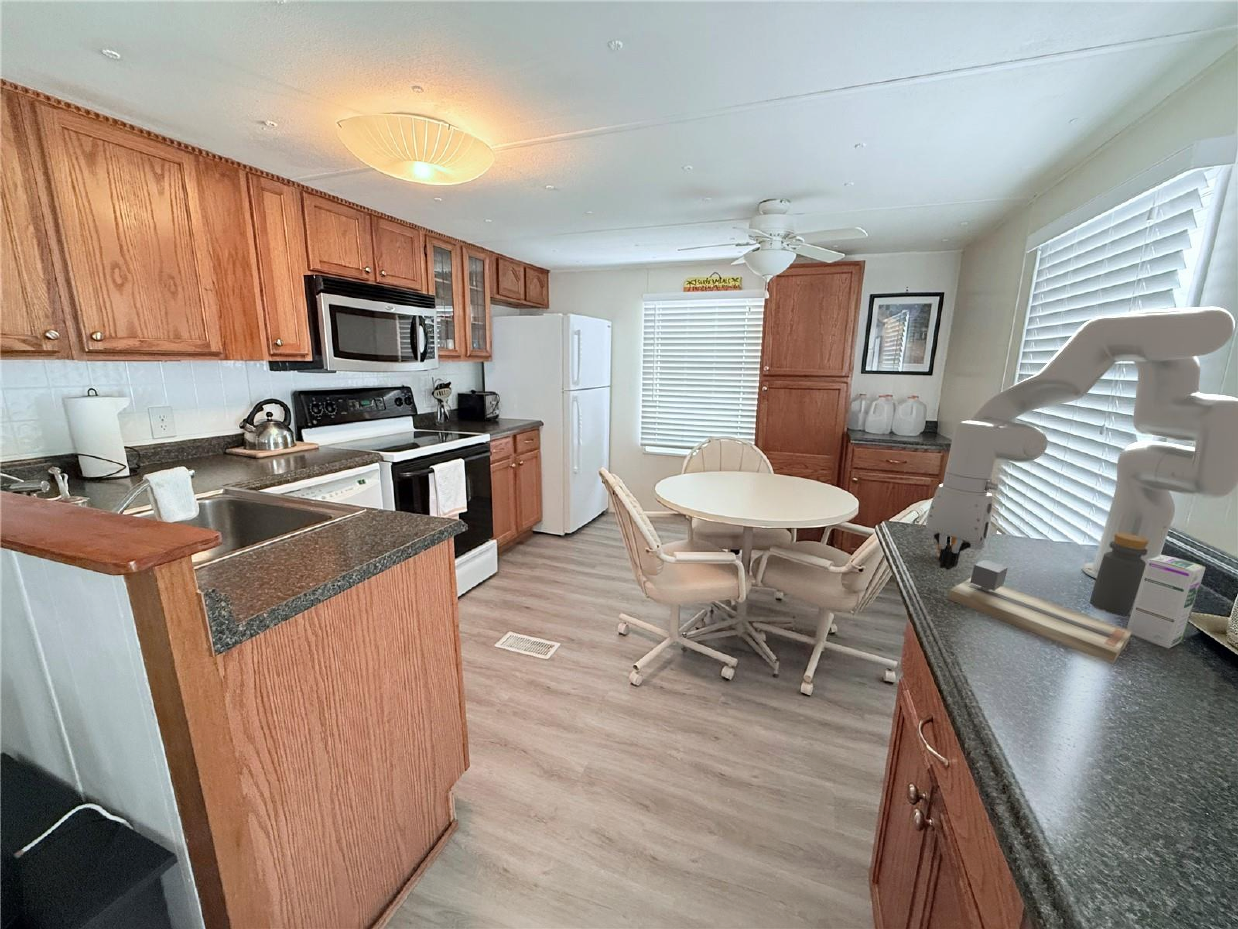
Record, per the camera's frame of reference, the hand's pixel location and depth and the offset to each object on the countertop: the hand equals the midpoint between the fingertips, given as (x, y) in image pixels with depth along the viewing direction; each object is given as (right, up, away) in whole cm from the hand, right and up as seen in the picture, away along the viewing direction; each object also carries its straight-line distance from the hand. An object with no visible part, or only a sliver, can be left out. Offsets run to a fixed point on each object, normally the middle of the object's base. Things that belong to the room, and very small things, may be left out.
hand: (946, 567), depth 103 cm
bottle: (+29, -7, -5) cm, 30 cm away
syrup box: (+26, -9, -15) cm, 32 cm away
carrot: (+10, -1, +16) cm, 19 cm away
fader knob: (+4, -3, -5) cm, 7 cm away
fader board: (+9, -7, -11) cm, 16 cm away
